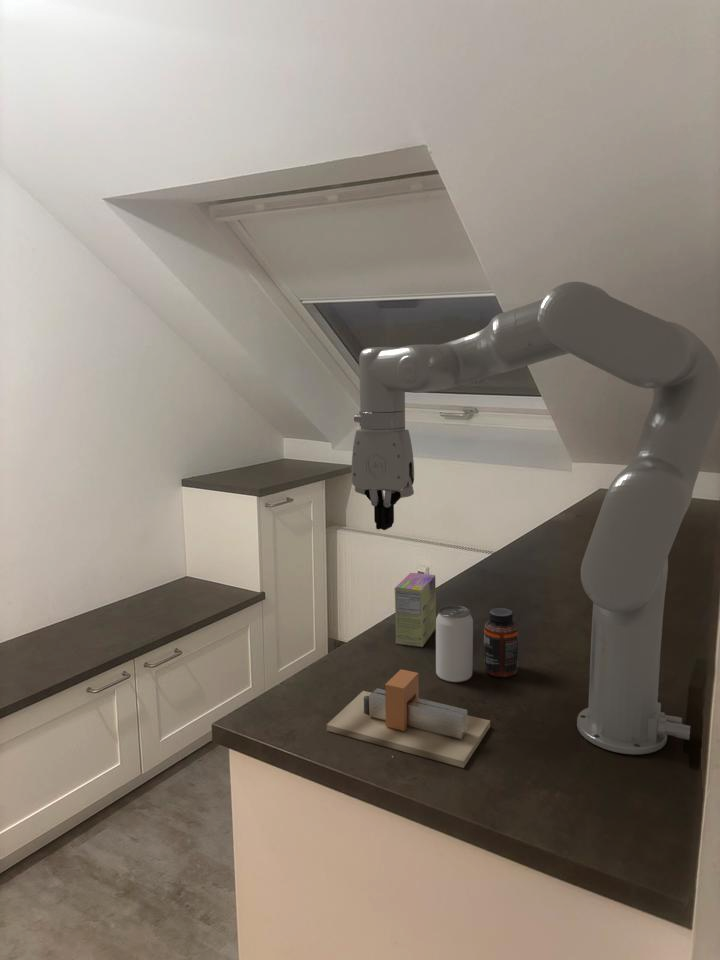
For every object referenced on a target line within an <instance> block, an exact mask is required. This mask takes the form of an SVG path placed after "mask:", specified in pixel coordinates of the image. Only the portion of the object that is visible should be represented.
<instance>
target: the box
mask: <svg viewBox="0 0 720 960" xmlns="http://www.w3.org/2000/svg"><path fill="white" fill-rule="evenodd" d="M436 593H437V590H436V574H431V573H429V574H428V573H419V572H410V573H408V575H406V577H405V578H404V579H402V580H401V581H400V582H399V583H398V584H397V585H396V586H395V587H394V608H395V611H394V612H395V644H396V645H400V646H401V645H402V646H410V647H420V648H423V647H424V645H425V644H426V643H427V641H428V640H429V638H430V637H431V636H432V634H433V633H434V632H435V631H436V618H437V605H436V604H437V602H436V601H437V600H436V597H437V595H436Z"/></svg>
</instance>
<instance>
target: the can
mask: <svg viewBox="0 0 720 960" xmlns="http://www.w3.org/2000/svg"><path fill="white" fill-rule="evenodd" d="M473 654H474V621H473V617H472V615H471V609H469V608H467V607H465V606H461V605H447V606H442V607H440V608H439V609H438V614H437V615H436V629H435V673H436V675H437V677H438V678H439V679H440V680H442V681H444V682H449V683H463V682H466V681H468V680H470V679H471V677H472V676H473V671H474V670H473V669H474V668H473V667H474V666H473V665H474V663H473V661H474V659H473V658H474V655H473Z"/></svg>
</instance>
